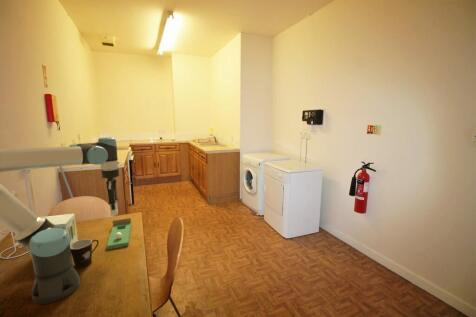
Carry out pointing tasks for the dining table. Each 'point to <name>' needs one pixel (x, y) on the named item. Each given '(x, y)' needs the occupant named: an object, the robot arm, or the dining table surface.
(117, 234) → the ball
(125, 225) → the green
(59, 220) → the supplement box
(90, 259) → the coffee mug
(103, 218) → the dining table surface
